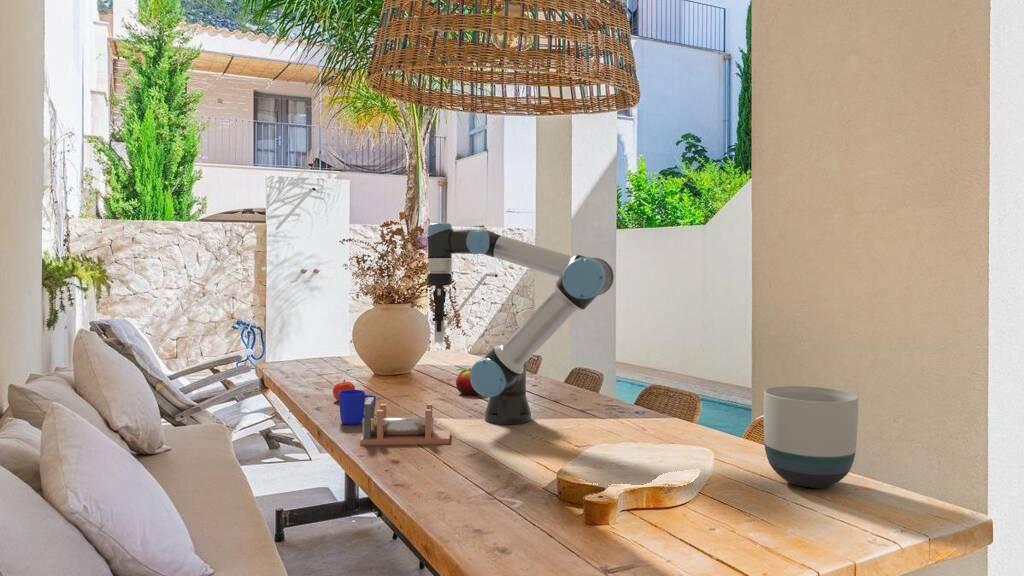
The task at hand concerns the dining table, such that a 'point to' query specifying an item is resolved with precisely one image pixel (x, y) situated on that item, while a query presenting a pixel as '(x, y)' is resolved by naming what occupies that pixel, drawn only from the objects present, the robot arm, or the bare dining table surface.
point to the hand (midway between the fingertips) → (439, 340)
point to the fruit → (465, 382)
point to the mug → (352, 406)
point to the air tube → (400, 426)
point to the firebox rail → (367, 439)
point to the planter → (810, 433)
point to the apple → (342, 388)
